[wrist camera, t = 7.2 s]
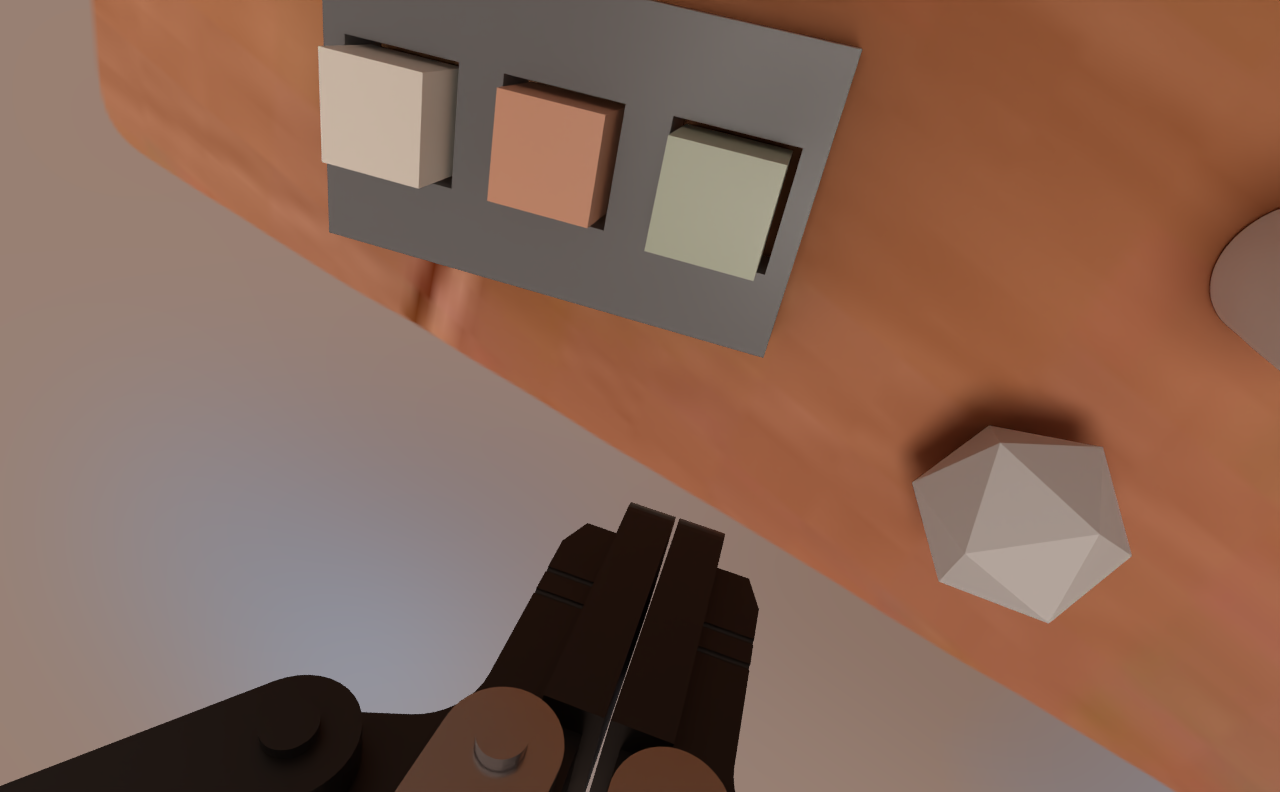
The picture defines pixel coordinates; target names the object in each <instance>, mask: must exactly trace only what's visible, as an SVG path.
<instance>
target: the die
mask: <svg viewBox="0 0 1280 792" xmlns="http://www.w3.org/2000/svg"><path fill="white" fill-rule="evenodd" d="M912 484H913V488H914V492H915V495H916V499H917V503H918V506H919V510H920V514H921V517H922V521H923V525H924V529H925V532H926V536H927V540H928V543H929V547H930V551H931V555H932V558H933V562H934V566H935V569H936V573H937V577H938V580H939V582H941V583H944V584H947V585H949V586H952V587H955V588H957V589H960V590H962V591H965V592H968V593H970V594H973V595H976V596H978V597H981V598H983V599H986V600H989V601H991V602H994V603H996V604H999V605H1002V606H1004V607H1007V608H1010V609H1012V610H1015V611H1017V612H1020V613H1023V614H1025V615H1028V616H1031V617H1033V618H1036V619H1038V620H1041V621H1044V622H1046V623H1050V622H1051V621H1052V620H1054V619H1055V618H1056V617H1057V616H1059V615H1060V614H1061V613H1062V612H1063V611H1065V610H1066V609H1067V608H1068V607H1070V606H1071V605H1072V604H1073V603H1075V602H1076V601H1077V600H1078V599H1079V598H1081V597H1082V596H1083V595H1084V594H1086V593H1087V592H1088V591H1089V590H1091V589H1092V588H1093V587H1094V586H1095V585H1097V584H1098V583H1099V582H1100V581H1102V580H1103V579H1104V578H1105V577H1107V576H1108V575H1109V574H1110V573H1111V572H1113V571H1114V570H1115V569H1116V568H1118V567H1119V566H1120V565H1121V564H1123V563H1124V562H1125V561H1126V560H1127V559H1129V558H1130V557H1131V556H1132V555H1131V551H1130V547H1129V543H1128V540H1127V536H1126V532H1125V528H1124V525H1123V521H1122V517H1121V513H1120V510H1119V506H1118V502H1117V498H1116V495H1115V491H1114V487H1113V483H1112V480H1111V476H1110V472H1109V468H1108V465H1107V461H1106V457H1105V453H1104V450H1103V447H1100V446H1095V445H1090V444H1084V443H1079V442H1074V441H1069V440H1063V439H1058V438H1053V437H1048V436H1042V435H1037V434H1032V433H1027V432H1021V431H1016V430H1011V429H1006V428H1000V427H995V426H990V425H989V426H988V427H986V428H985V429H983V430H982V431H981V432H979V433H978V434H977V435H975V436H974V437H973V438H971V439H970V440H969V441H967V442H966V443H965V444H963V445H962V446H961V447H959V448H958V449H956V450H955V451H954V452H952V453H951V454H950V455H948V456H947V457H946V458H944V459H943V460H942V461H940V462H939V463H938V464H936V465H935V466H934V467H932V468H931V469H930V470H928V471H927V472H925V473H924V474H923V475H921V476H920V477H919V478H917V479H916V480H915V481H913V482H912Z"/></svg>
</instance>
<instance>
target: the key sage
mask: <svg viewBox="0 0 1280 792" xmlns="http://www.w3.org/2000/svg"><path fill="white" fill-rule="evenodd" d="M792 153H793V150H790V149H786V148H782V147H778V146H774V145H770V144H766V143H762V142H758V141H754V140H750V139H746V138H742V137H738V136H734V135H730V134H726V133H722V132H718V131H714V130H710V129H706V128H702V127H698V126H694V125H690V124H685V125H684V126H682V127H680V128H679V129H677V130H675V131H674V132H672V133H671V134H669V135H668V138H667V143H666V148H665V153H664V158H663V163H662V167H661V172H660V177H659V182H658V187H657V192H656V197H655V201H654V206H653V211H652V216H651V221H650V226H649V230H648V235H647V240H646V245H645V250H644V251H646V252H650V253H653V254H657V255H661V256H664V257H668V258H671V259H675V260H679V261H682V262H686V263H690V264H693V265H697V266H700V267H704V268H708V269H711V270H715V271H719V272H722V273H726V274H729V275H733V276H737V277H740V278H744V279H747V280H751V281H754V278H755V275H756V272H757V269H758V266H759V263H760V260H761V257H762V254H763V251H764V248H765V244H766V241H767V237H768V234H769V231H770V227H771V224H772V221H773V217H774V214H775V210H776V207H777V204H778V200H779V197H780V193H781V190H782V187H783V183H784V180H785V177H786V173H787V170H788V166H789V163H790V160H791V156H792Z"/></svg>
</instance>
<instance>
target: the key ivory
mask: <svg viewBox="0 0 1280 792" xmlns="http://www.w3.org/2000/svg"><path fill="white" fill-rule="evenodd" d="M318 58H319V89H320V119H321V150H322V162H324V163H327V164H331V165H335V166H338V167H342V168H346V169H349V170H353V171H356V172H360V173H364V174H367V175H371V176H374V177H378V178H382V179H385V180H389V181H393V182H396V183H400V184H403V185H407V186H411V187H414V188H418V189H419V188H422V187H424V186H427V185H430V184H432V183H435V182H437V181H440V180H443V179H445V178H448V177H451V176H452V174H453V157H454V140H455V123H456V107H457V90H458V73H459V66H455V65H451V64H447V63H443V62H439V61H435V60H431V59H427V58H423V57H419V56H415V55H411V54H407V53H403V52H399V51H395V50H391V49H387V48H383V47H379V46H375V45H372V44H365V45H335V46H318Z"/></svg>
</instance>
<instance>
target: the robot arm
mask: <svg viewBox="0 0 1280 792" xmlns="http://www.w3.org/2000/svg"><path fill="white" fill-rule="evenodd" d="M675 518H676V517H674V516H670V515H668V514H665V513H662V512H659V511H656V510H653V509H650V508H647V507H644V506H641V505H638V504H635V503H632V502H631V503H630V505H629V507H628V509H627V511H626V513H625V515H624V518H623V520H622V522H621V524H620V526H619V529H618V531H617V533H614V532H611V531H608V530H606V529H603V528H600V527H597V526H594V525H591V524H588V523H587V524H586V525H584V526H583V527H581V528H580V529H579V530H577V531H576V532H574V533H573V534H571V535H570V536H568V537H567V538H566V539H564V540H563V541H562V542H561V544H560V546H559V548H558V550H557V552H556V553H555V555H554V557H553V559H552V561H551V562H550V564H549V566H548V569H547V572H545V574H544V575H543V577H542V579H541V581H540V583H539V584H538V586H537V589H536V591H535V593H534V594H533V595H532V597H531V599H530V601H529V603H528V604H527V606H526V608H525V610H524V612H523V614H522V615H521V617H520V619H519V621H518V623H517V624H516V626H515V628H514V630H513V632H512V634H511V635H510V637H509V639H508V641H507V643H506V644H505V646H504V648H503V650H502V652H501V654H500V655H499V657H498V659H497V661H496V663H495V664H494V666H493V668H492V670H491V672H490V674H489V675H488V677H487V678H486V680H485V681H484V683H483V684H482V685H481V686H480V687H479V688H478V689H477V690H476V691H475V692H474V693H473V694H471V695H469V696H467V697H466V698H464V699H463V700H461V701H460V702H459V703H458V704H456V705H454V706H452V707H449V708H447V709H444V710H441V711H437V712H433V713H426V714H390V713H367V712H361V710H360V706H359V703H358V701H357V700H356V698H355V696H354V695H353V694H352V693H351V692H350V690H349V689H348V688H346V687H345V686H343V685H342V684H341V683H339V682H336V681H334V680H332V679H330V678H326V677H322V676H315V675H297V676H292V677H286V678H283V679H279V680H276V681H273V682H271V683H268V684H266V685H263V686H260V687H257V688H255V689H252V690H250V691H247V692H245V693H242V694H239V695H237V696H234V697H231V698H229V699H226V700H224V701H221V702H218V703H216V704H213V705H210V706H208V707H206V708H203V709H200V710H197V711H195V712H192V713H190V714H187V715H184V716H182V717H179V718H177V719H174V720H172V721H169V722H166V723H164V724H161V725H158V726H156V727H153V728H150V729H148V730H145V731H143V732H140V733H137V734H135V735H132V736H130V737H127V738H124V739H122V740H119V741H117V742H114V743H111V744H109V745H106V746H104V747H101V748H98V749H96V750H93V751H91V752H88V753H85V754H83V755H80V756H77V757H75V758H72V759H70V760H67V761H65V762H62V763H59V764H57V765H54V766H51V767H49V768H46V769H43V770H41V771H38V772H36V773H33V774H30V775H28V776H25V777H23V778H20V779H18V780H15V781H12V782H10V783H7V784H4V785H2V786H0V792H586V788H587V786H588V783H589V779H590V777H591V774H592V771H593V768H594V765H595V762H596V759H597V756H598V753H599V751H600V748H601V745H602V742H603V739H604V736H605V733H606V730H607V727H608V724H609V721H610V718H611V715H612V712H613V709H614V707H615V704H616V701H617V698H618V695H619V692H620V689H621V686H622V683H623V680H624V678H625V680H624V683H623V686H622V689H621V692H620V695H619V698H618V701H617V704H616V707H615V710H614V713H613V716H612V719H611V722H610V725H609V728H608V732H607V735H606V738H605V742H604V745H603V748H602V752H601V755H600V758H599V762H598V765H597V768H596V772H595V775H594V779H593V782H592V785H591V788H590V792H735V789H734V778H733V776H734V765H735V758H736V752H737V746H738V739H739V732H740V726H741V720H742V714H743V707H744V701H745V694H746V688H747V681H748V675H749V666H750V662H751V656H752V648H753V641H754V636H755V629H756V623H757V617H758V611H759V608H758V606H757V602H756V599H755V596H754V593H753V590H752V587H751V584H750V581H749V579H748V578H745V577H742V576H739V575H737V574H734V573H731V572H728V571H725V570H722V569H719V568H717V566H718V562H719V558H720V554H721V550H722V545H723V541H724V537H725V534H724V533H721V532H718V531H716V530H712V529H709V528H707V527H704V526H701V525H698V524H695V523H692V522H689V521H686V520H683V519H679V522H678V525H677V528H676V531H675V534H674V537H673V540H672V543H671V545H670V548H669V551H668V554H667V557H666V560H665V563H664V566H663V569H662V572H661V575H660V578H659V581H658V584H657V586H656V589H655V593H654V595H653V598H652V601H651V604H650V600H651V597H652V594H653V591H654V588H655V585H656V581H657V578H658V574H659V571H660V568H661V565H662V562H663V558H664V555H665V552H666V548H667V545H668V542H669V538H670V535H671V532H672V528H673V525H674V522H675ZM649 604H650V607H649ZM648 607H649V610H648ZM647 610H648V613H647ZM646 613H647V616H646ZM645 616H646V619H645ZM644 619H645V622H644ZM643 622H644V625H643ZM642 625H643V628H642ZM641 628H642V631H641ZM640 631H641V633H640ZM639 634H640V636H639ZM638 637H639V639H638ZM637 640H638V642H637ZM636 642H637V645H636ZM635 645H636V648H635ZM634 648H635V651H634ZM633 651H634V654H633ZM632 654H633V657H632ZM631 657H632V660H631ZM630 660H631V663H630ZM629 663H630V666H629ZM628 666H629V669H628V672H627V668H628ZM626 672H627V675H626ZM625 675H626V677H625Z"/></svg>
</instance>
